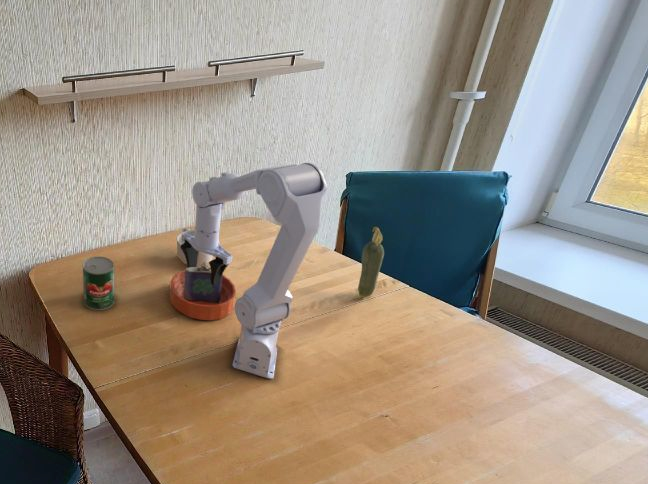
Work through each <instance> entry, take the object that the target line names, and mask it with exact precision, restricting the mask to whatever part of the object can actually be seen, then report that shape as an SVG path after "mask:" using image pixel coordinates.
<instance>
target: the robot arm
mask: <svg viewBox="0 0 648 484" xmlns="http://www.w3.org/2000/svg"><path fill="white" fill-rule="evenodd" d="M328 189H329V187H328V183H327V182H326V179H325V176H324V174H323V172H322V170H321V169H320V168H319V166H318V165H316V164H315V163H313V162H303V163H300V164H287V165H286V164H285V165H279V166H271V167H265V168H264V167H263V168H259V169H256V170H253V171H250V172H248V173H245V174H243V175H239V174H237V173H234V172H231V171H223V172H222V173H221V174H220V176H218V177H217V176H211V177H209V180H206V181H197V182H195V183H194V184H193V186H192V190H191V195H192V199H193V201H194V203H195V205H196V207H195V220H194V221H195V222H194V230H195V234H192V233H189V232H185V233H182V232H181V233H182V238H181V240H182V241H184V244H182V245H181V249H182V251H183V253H184V255H185V258H186V261H187V264H186V265H187V268H188V267H196V266H197V258H198V253H199V252H202V253H206V254H209V255H212V256H213V257H214V258H213V259H212V260H211V261H209V263H208V265H209V268H211V284H212V285H215V284H217V283H219V281H220V278H221V276H222V274H223V273H224V272H225V270H226V269H227V268H228V266H229V265H230V264H231V263H233V254H231V253H229V252H228V251H227V250H226V249H225V248H224V247H223V246H222V245H221V244H220V240H219V238H220V230H221V229H220V228H221V217H222V212H223V210H224V209H225V204H226V203H227V202H233V201H237V200H239V199H241V198H242V197H244V195H245V193H246V192H248V191H252V190H255V192H256V194H257V195H258V196H259V195H260V198H261V199H262V200H263V202H264V204H265V206H266V207H267V209H268V211H269V213H270V214H271V215H272V218H273V219H274V221H275V222H277V223H279V224H281V226H280V229H279V231H278V233H277V235H276V238H275V240H274V242H273V244H272V247H271V248H270V251H269V254H268V255H267V258H266V260H265V263H264V265H263V268H262V270H261V271H260V274H259V276H258V279H257V282H255V283H254V284H253V285H252V286H250V287H249V288H247V289H246V290H244V292H243V294H242V296H241V297H239V298H237V299H235V303H234V314H235V316H236V319H237V321H238V322H239V323H240V325H241V326H240V336H239V338H238V342H237V345H236V349H235V353H234V357H233V361H232V367H233V368H234V369H237V370H240V371H243V372H246V373H249V374H252V375H255V376H260V377H261V378H262V377H263V378H266V379H269V380H273V379H274V377H275V368H276V363H277V354H278V347H277V343H278V337H279V330H280V326H282V325H283V321H284V320H286V319H288V318H289V317H290V316H291V312H292V308H291V307H292V302H293V300H294V296H293V295H292V294H291V293H292V292H291V291H290V290H289V289H290V286H291V285H292V282H293V281H294V279H295V277H296V275H297V273H298V271H299V269H300V267H301V265H302V262H303V260H304V258H305V257H306V255H307V253H308V250H309V249H310V247H311V246H312V245H311V244H312V243H313V241H314V240H315V237H316V235H317V233H318V231H319V228H320V223H321V209H322V202H323V199H324V197H325V195H326V193H327V191H328ZM223 275H224V274H223Z"/></svg>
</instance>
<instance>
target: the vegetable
mask: <svg viewBox="0 0 648 484" xmlns="http://www.w3.org/2000/svg"><path fill="white" fill-rule="evenodd" d="M373 232H374V233H373ZM372 233H373V236H372V238H371V241H369V242H367V243H365V245H364V247H363V249H362V254H361V272H360V277H359V282H358V286H357V291H358V295H359V296H360V297H361V298H367V297H370V296H372V295H373V293H374V292H375V289H376V287H377V283H378V278H379V274H380V270H381V267H382V265H383V261H384V256H385V249H384V247H383V245H382V244H381V243H382V242H383V234H382V232H381V231H380V228H379V227H377V226H374V227H373V228H372Z"/></svg>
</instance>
